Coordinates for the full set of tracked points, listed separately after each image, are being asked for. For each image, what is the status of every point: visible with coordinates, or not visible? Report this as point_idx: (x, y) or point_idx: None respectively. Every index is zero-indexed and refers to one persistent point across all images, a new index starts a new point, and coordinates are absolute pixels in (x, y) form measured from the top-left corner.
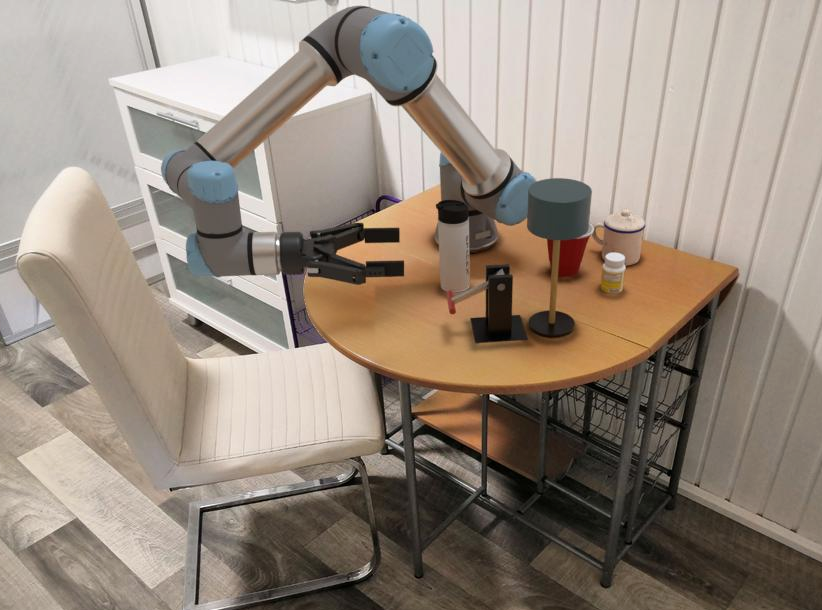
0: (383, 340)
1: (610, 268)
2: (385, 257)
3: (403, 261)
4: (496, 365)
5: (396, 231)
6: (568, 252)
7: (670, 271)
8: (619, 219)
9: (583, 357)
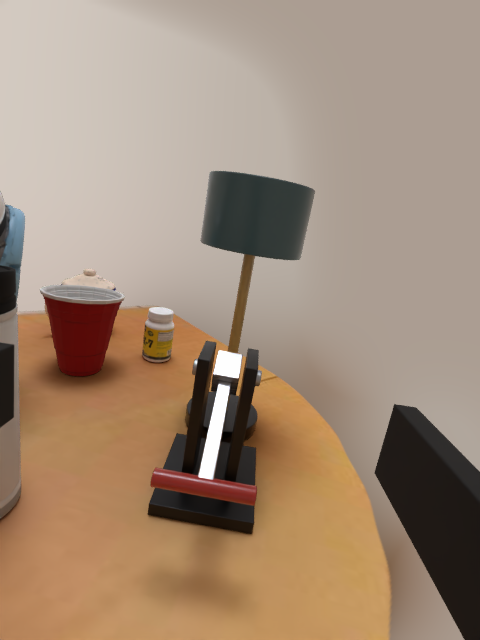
0: None
1: (166, 325)
2: None
3: (408, 407)
4: (315, 516)
5: (1, 363)
6: (109, 326)
7: (143, 323)
8: (92, 280)
9: (294, 418)
